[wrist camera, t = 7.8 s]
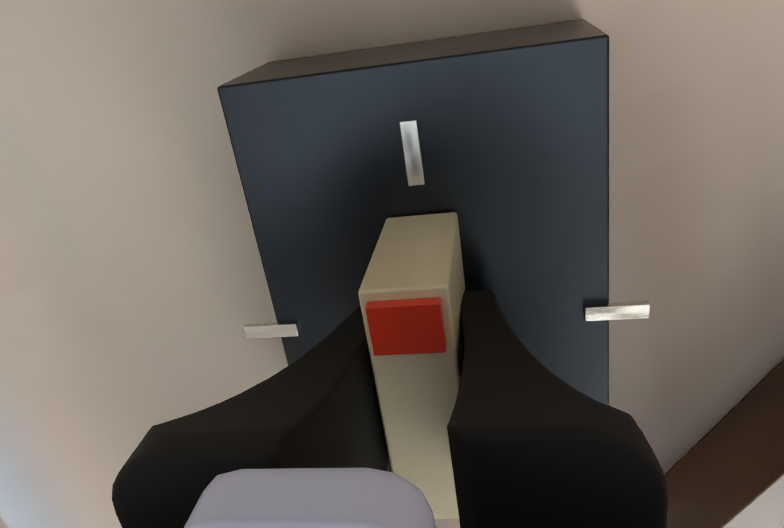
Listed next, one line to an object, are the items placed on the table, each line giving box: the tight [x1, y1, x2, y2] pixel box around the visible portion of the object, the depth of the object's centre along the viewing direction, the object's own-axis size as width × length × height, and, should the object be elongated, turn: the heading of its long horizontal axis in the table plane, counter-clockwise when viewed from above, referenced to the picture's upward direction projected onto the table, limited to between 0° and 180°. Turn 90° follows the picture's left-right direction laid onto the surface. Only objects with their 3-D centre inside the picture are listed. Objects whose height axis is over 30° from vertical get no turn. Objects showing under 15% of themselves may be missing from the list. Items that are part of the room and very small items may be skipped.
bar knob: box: [358, 212, 465, 519], centre depth 13 cm, size 6×2×4 cm, turn 9°
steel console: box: [218, 19, 650, 472], centre depth 17 cm, size 12×10×4 cm
